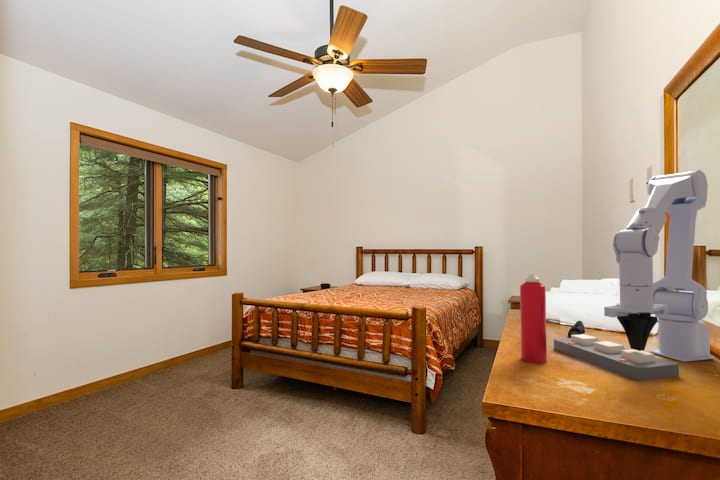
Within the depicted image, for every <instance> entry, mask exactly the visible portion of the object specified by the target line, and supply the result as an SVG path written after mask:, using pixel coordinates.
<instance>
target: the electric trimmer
mask: <svg viewBox="0 0 720 480" xmlns="http://www.w3.org/2000/svg"><path fill="white" fill-rule="evenodd" d="M568 330H569V331H568V332H567V338H571V335H580V334H585V332H586V330H585V324H584V323H583V321H582V320H577V321H576V322H575V324H574V325H572V326H571V327H570V329H568Z"/></svg>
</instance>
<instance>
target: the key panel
mask: <svg viewBox="0 0 720 480" xmlns="http://www.w3.org/2000/svg"><path fill="white" fill-rule="evenodd" d="M598 342H602V340H598ZM553 350H554V351H555V350H556V351H558V352H561V353H564V354H566V355H568V354H569V356H571V355H572V356H571V357H574V358H576V357H577V359H579V358H580V360H582V361H585V362H588V363H590V364H593V365H596V366H597V367H601V368H603V367H604V369H606V370H609V371H611V370H612V372H614V373H617V374H620V375H623V376H625V377H628V378H630V379H633V380H636V381H638V382H640V381H641V382H642V380H643V381H650V380H652V381H653V380H659V379H661V380H662V379H669V378H670V379H671V378H678V377H680V364H679V363H677V362H672V361H669V360H667V359H663V358H659V357H656V356H655V362H651V363H641V364H639V363H636V362H633V361H630V360H627V359H623V358H621V353H613V354H608V353H605V352H602V351H599V350H596V349H594V345H585V346H584V345H580V344H577V343H574V342H571V338H569V337H567V338H556V339H553ZM624 350H630V349H628V348H626V347H624Z"/></svg>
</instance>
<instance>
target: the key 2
mask: <svg viewBox="0 0 720 480" xmlns="http://www.w3.org/2000/svg"><path fill="white" fill-rule="evenodd" d="M655 357H656V356H655V354H654V353H651V352H647V351H645V350H644V351H638V350H634V349H631V348H630V349H629V350H621V358H623V359H627V360H630V361H633V362H636V363H639V364H641V363H651V362H655Z"/></svg>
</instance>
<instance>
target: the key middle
mask: <svg viewBox="0 0 720 480" xmlns="http://www.w3.org/2000/svg"><path fill="white" fill-rule="evenodd" d="M601 341H602V340H601ZM624 348H625V347H624V344H621V343H620V344H619V343H616V342H612V341H609V340H604V341H602V342H594V349H596V350H599V351H602V352H605V353H608V354H613V353H621V350H624Z"/></svg>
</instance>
